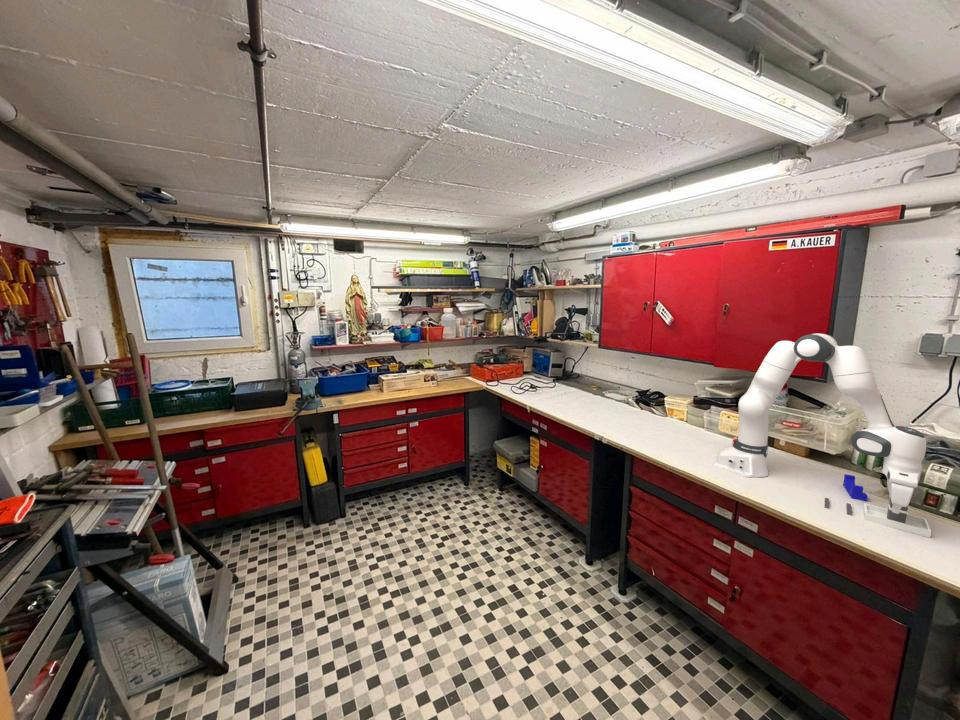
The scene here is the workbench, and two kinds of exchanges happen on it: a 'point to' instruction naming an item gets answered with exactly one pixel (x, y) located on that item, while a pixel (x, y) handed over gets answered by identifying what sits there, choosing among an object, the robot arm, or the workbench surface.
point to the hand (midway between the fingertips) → (893, 506)
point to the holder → (848, 506)
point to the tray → (911, 524)
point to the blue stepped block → (854, 488)
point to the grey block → (897, 517)
